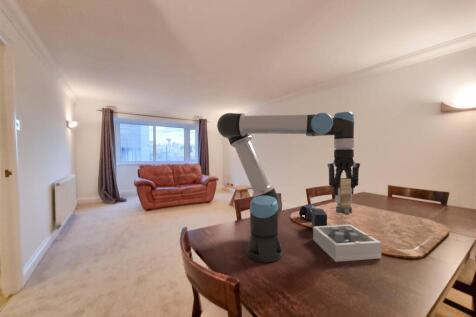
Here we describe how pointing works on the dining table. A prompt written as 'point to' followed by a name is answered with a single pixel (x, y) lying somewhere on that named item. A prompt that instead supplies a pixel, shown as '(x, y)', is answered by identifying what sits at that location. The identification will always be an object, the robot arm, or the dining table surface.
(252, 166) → the robot arm
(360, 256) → the white open square box
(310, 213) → the rock
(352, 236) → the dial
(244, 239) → the dining table surface
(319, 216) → the small box
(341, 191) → the long wooden block
